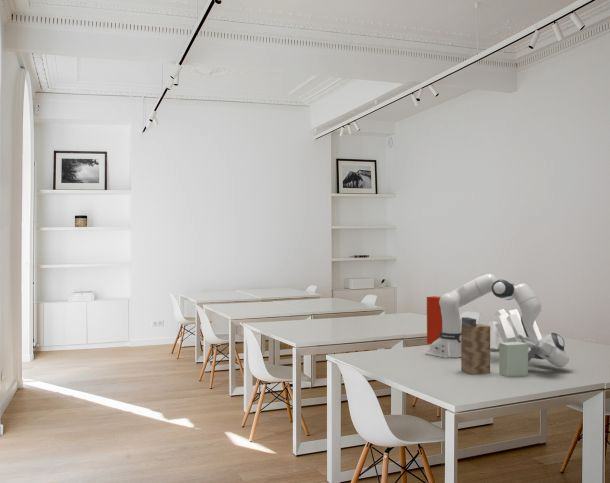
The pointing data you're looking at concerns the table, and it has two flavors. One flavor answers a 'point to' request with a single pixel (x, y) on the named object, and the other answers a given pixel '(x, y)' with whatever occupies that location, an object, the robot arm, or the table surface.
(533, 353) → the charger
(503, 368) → the block
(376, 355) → the table surface
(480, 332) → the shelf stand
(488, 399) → the table surface
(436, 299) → the file binder
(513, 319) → the pile of blocks
